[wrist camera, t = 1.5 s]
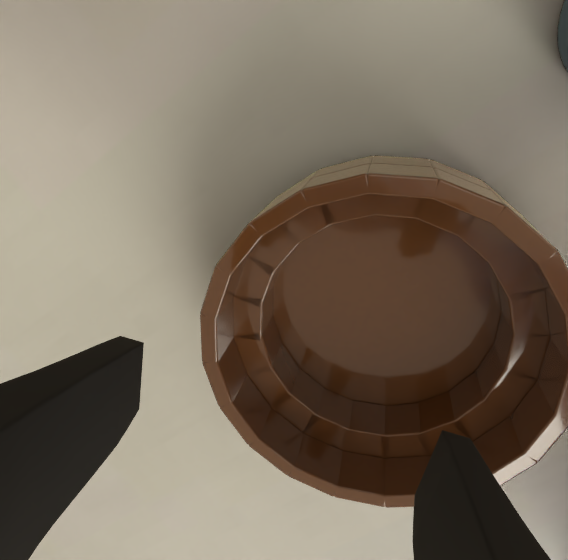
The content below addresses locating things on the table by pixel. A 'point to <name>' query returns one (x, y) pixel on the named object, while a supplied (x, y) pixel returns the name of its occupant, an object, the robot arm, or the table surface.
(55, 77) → the table surface
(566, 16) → the container
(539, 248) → the bowl
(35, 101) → the table surface
